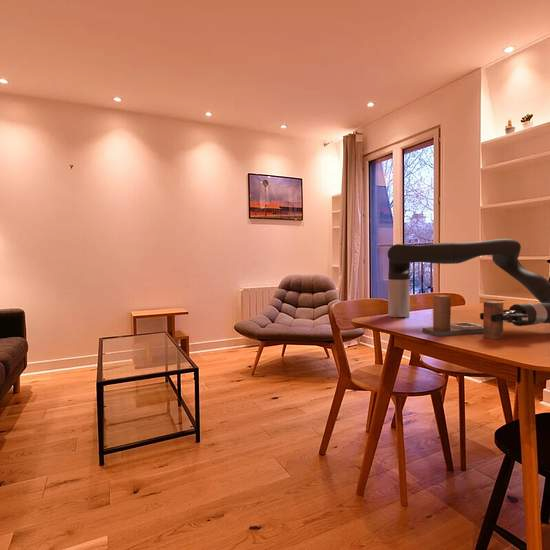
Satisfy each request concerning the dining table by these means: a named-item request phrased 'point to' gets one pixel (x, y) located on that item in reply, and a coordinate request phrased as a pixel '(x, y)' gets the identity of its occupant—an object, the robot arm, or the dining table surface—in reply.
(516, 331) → the dining table surface
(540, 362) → the dining table surface
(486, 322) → the wooden post
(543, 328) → the dining table surface
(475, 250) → the robot arm
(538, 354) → the dining table surface
